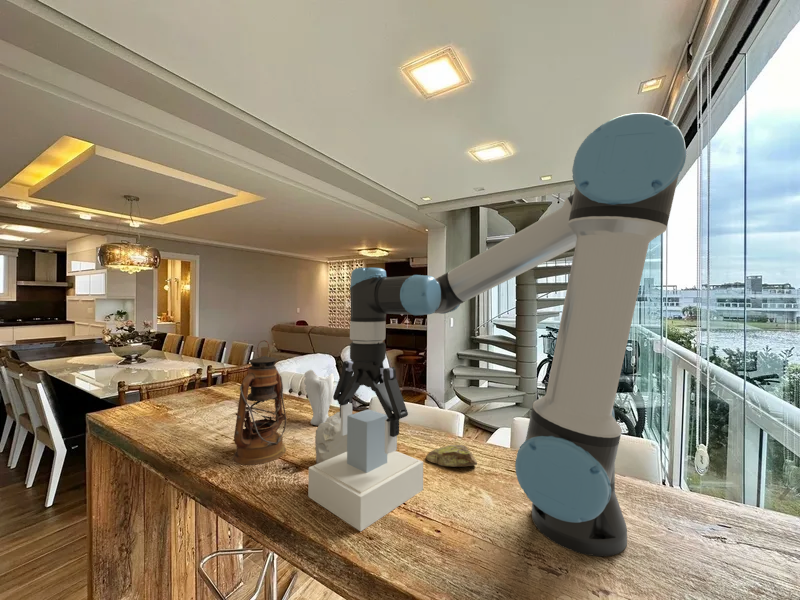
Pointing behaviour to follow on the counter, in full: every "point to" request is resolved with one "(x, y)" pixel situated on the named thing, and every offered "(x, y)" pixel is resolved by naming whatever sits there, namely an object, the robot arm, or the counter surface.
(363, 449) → the block
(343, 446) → the stone
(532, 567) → the counter surface
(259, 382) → the lantern
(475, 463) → the rock
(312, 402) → the white figurine
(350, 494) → the plinth
